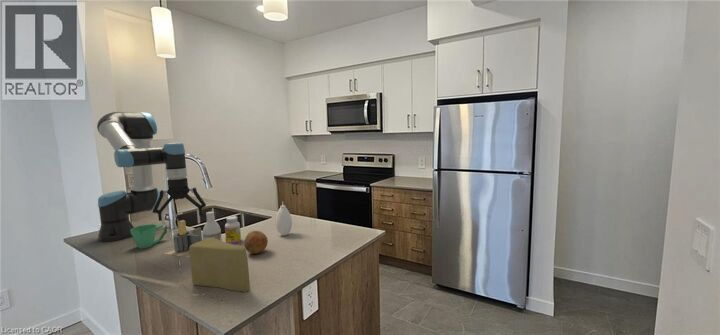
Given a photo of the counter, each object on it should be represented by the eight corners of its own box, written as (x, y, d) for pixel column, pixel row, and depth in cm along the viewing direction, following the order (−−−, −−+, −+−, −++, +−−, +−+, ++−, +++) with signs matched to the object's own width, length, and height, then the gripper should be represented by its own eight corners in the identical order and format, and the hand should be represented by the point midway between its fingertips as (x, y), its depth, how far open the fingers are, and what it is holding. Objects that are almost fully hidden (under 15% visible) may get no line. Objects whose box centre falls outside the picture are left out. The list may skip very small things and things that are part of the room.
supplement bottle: (223, 245, 143) (220, 219, 142) (232, 240, 150) (230, 215, 148) (234, 246, 141) (232, 220, 140) (244, 241, 148) (242, 216, 146)
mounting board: (162, 255, 133) (162, 253, 133) (193, 242, 148) (193, 240, 148) (188, 259, 128) (188, 257, 128) (217, 245, 143) (217, 243, 143)
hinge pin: (180, 248, 138) (177, 220, 136) (188, 246, 139) (185, 219, 137) (180, 250, 135) (177, 223, 133) (187, 249, 137) (184, 221, 134)
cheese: (259, 285, 106) (256, 243, 104) (237, 299, 97) (233, 254, 95) (215, 273, 116) (211, 235, 114) (191, 285, 107) (187, 244, 105)
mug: (138, 254, 136) (136, 232, 134) (129, 250, 141) (126, 229, 140) (173, 243, 148) (171, 223, 147) (163, 239, 153) (160, 220, 152)
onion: (272, 249, 137) (271, 227, 136) (259, 258, 128) (258, 235, 127) (254, 247, 140) (252, 226, 139) (240, 256, 130) (238, 233, 129)
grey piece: (171, 251, 135) (169, 235, 134) (195, 240, 147) (194, 226, 146) (193, 254, 131) (191, 238, 130) (216, 243, 143) (215, 229, 142)
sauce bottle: (295, 233, 157) (293, 199, 155) (284, 238, 150) (282, 203, 148) (284, 231, 161) (282, 198, 159) (273, 236, 155) (271, 201, 152)
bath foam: (223, 259, 128) (219, 213, 125) (205, 263, 125) (200, 215, 122) (222, 253, 134) (219, 209, 131) (205, 257, 131) (200, 211, 128)
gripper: (141, 182, 125) (146, 232, 127) (208, 176, 135) (212, 223, 138) (144, 179, 131) (150, 227, 134) (209, 174, 142) (212, 218, 145)
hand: (182, 225), depth 136 cm, fingers open, 13 cm apart
